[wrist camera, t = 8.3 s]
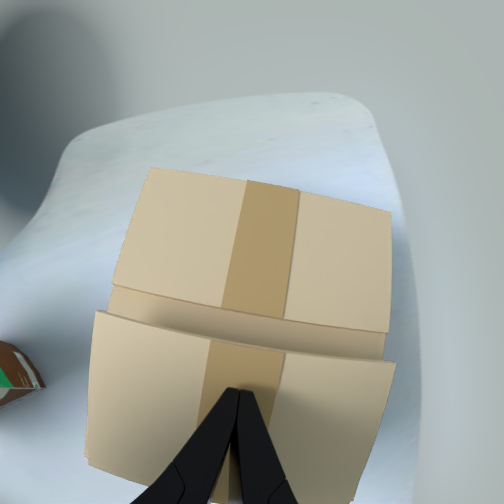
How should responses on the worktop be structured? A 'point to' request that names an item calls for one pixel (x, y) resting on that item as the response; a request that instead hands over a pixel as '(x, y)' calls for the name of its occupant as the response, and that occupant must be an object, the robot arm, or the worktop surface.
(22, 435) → the worktop surface
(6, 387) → the food container
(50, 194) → the worktop surface
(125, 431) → the lid flap
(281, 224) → the carton
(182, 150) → the worktop surface
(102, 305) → the worktop surface
